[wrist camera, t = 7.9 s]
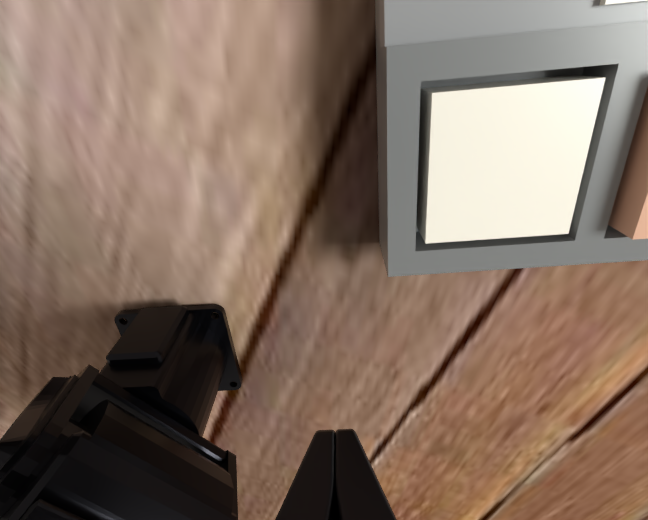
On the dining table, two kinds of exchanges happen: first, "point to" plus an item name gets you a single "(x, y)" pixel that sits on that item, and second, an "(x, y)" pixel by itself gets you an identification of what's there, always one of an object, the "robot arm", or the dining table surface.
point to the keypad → (494, 66)
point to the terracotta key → (634, 184)
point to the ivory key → (503, 157)
